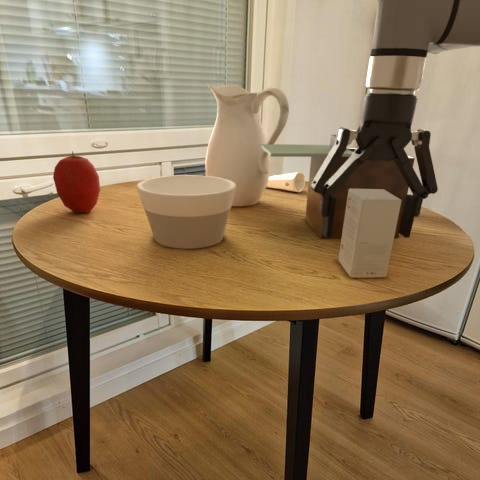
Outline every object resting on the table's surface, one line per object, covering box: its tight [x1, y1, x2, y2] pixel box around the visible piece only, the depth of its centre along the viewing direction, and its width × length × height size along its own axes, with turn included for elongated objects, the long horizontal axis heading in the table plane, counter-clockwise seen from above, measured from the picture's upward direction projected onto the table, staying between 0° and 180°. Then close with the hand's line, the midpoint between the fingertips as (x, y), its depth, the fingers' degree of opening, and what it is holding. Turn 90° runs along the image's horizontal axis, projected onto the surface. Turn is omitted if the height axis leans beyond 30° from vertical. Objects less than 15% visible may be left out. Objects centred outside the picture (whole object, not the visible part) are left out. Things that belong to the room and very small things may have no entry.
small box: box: [337, 189, 402, 279], centre depth 71 cm, size 8×6×13 cm
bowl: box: [136, 174, 236, 250], centre depth 85 cm, size 19×19×11 cm
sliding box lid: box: [261, 134, 353, 158], centre depth 86 cm, size 17×13×3 cm
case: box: [304, 147, 416, 239], centre depth 92 cm, size 17×14×16 cm
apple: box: [52, 150, 101, 214], centre depth 100 cm, size 10×10×14 cm
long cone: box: [266, 171, 306, 193], centre depth 131 cm, size 6×6×19 cm
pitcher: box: [204, 83, 290, 207], centre depth 106 cm, size 24×17×28 cm
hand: (365, 235), depth 71 cm, fingers open, 13 cm apart
